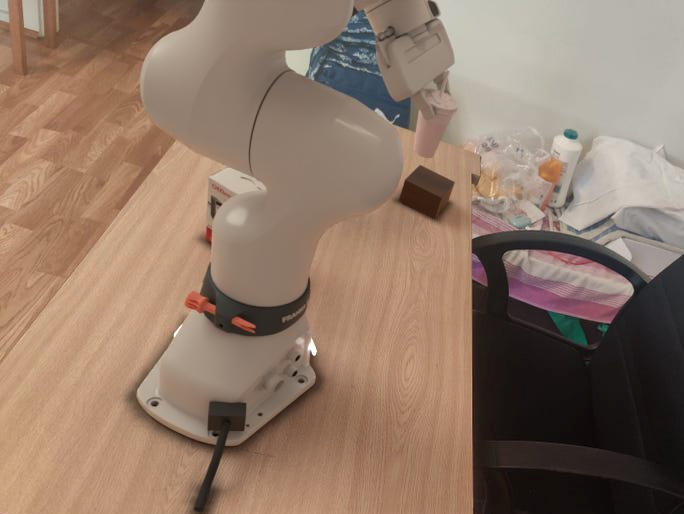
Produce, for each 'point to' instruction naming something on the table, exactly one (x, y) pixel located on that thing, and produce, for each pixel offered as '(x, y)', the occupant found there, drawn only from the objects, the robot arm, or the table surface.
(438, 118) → the smoothie
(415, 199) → the block
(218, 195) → the ink box
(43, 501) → the table surface
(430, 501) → the table surface
